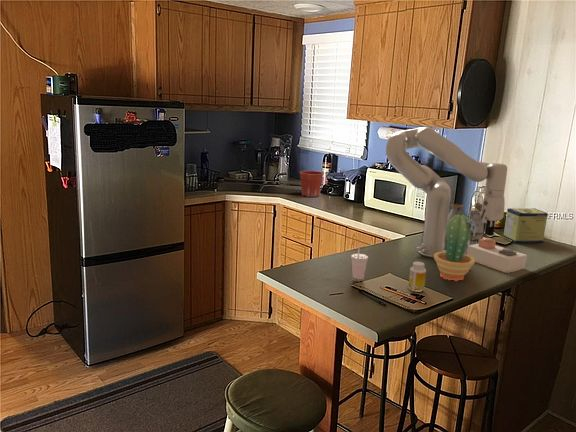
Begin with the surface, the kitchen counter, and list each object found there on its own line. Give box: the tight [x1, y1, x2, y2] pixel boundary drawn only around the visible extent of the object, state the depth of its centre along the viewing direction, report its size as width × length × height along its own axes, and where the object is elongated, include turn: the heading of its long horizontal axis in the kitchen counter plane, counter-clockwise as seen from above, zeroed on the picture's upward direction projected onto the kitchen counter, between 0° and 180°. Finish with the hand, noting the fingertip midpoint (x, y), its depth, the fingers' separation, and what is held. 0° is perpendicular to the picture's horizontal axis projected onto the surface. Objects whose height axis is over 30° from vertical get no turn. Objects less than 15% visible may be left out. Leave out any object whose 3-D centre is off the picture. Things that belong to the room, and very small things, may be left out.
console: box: [466, 244, 528, 274], centre depth 208 cm, size 12×20×6 cm, turn 32°
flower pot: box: [299, 170, 324, 198], centre depth 334 cm, size 16×16×16 cm
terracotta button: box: [479, 237, 497, 250], centre depth 211 cm, size 5×5×6 cm
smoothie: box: [350, 244, 369, 279], centre depth 182 cm, size 6×6×14 cm
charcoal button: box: [499, 247, 518, 256], centre depth 203 cm, size 5×5×6 cm
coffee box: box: [466, 210, 486, 247], centre depth 232 cm, size 9×6×16 cm
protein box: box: [503, 207, 549, 244], centre depth 243 cm, size 10×16×16 cm
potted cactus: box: [433, 214, 477, 282], centre depth 188 cm, size 15×15×25 cm
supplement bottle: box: [408, 261, 427, 291], centre depth 175 cm, size 6×6×10 cm
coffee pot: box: [447, 203, 464, 223], centre depth 257 cm, size 21×12×15 cm, turn 164°
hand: (488, 234), depth 210 cm, fingers closed
